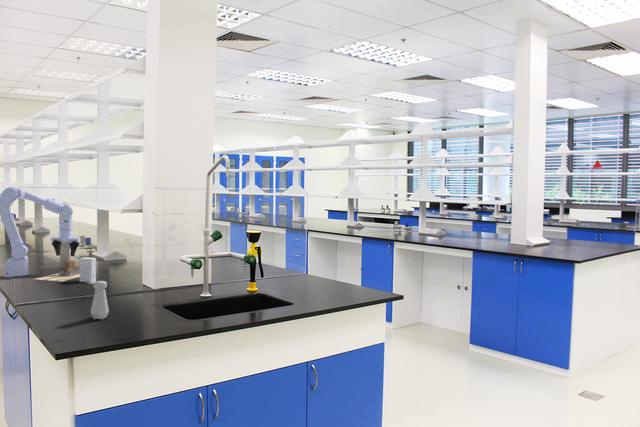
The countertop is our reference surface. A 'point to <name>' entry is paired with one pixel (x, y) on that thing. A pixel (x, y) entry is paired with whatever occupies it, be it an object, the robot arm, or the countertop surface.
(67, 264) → the tan upright block
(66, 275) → the clip board
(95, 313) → the salt shaker
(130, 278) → the countertop surface
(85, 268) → the skincare box
